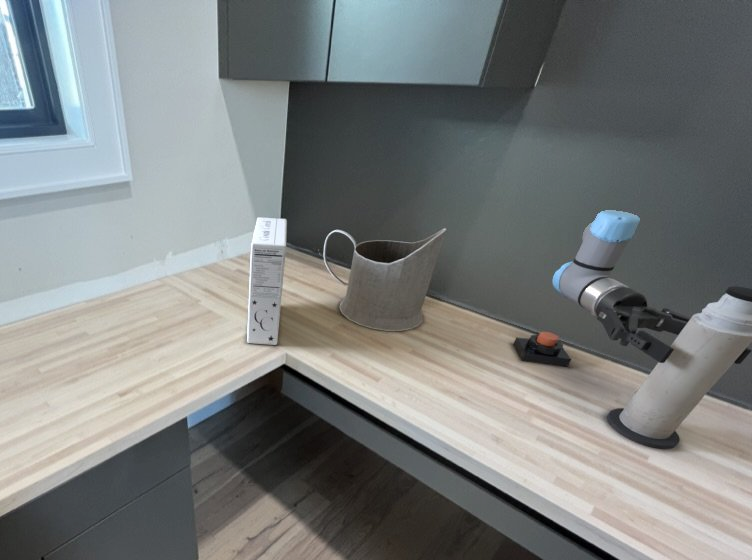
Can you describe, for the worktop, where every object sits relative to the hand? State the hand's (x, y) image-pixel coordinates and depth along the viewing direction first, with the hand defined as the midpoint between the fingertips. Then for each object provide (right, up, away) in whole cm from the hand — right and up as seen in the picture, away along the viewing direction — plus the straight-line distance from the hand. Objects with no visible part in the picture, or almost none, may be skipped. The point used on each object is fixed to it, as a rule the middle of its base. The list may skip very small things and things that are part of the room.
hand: (705, 356), depth 71 cm
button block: (-5, +3, +33) cm, 33 cm away
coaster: (-1, -13, +11) cm, 17 cm away
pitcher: (-42, +18, +52) cm, 69 cm away
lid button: (-5, +5, +30) cm, 31 cm away
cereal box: (-73, +11, +42) cm, 85 cm away
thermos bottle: (0, -13, +11) cm, 17 cm away
